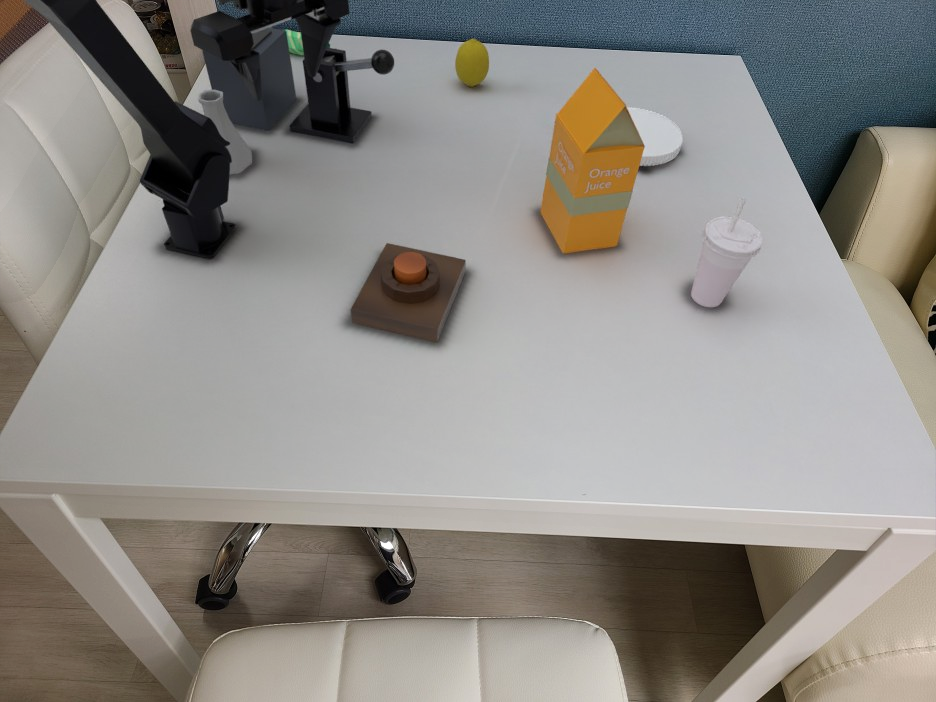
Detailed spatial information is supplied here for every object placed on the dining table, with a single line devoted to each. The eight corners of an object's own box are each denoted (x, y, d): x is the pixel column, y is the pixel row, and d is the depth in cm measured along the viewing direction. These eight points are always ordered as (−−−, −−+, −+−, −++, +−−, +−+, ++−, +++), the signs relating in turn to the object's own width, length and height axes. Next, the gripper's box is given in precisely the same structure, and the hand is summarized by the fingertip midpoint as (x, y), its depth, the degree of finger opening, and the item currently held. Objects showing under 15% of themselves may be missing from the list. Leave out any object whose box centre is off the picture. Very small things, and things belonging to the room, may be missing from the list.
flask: (260, 150, 97) (246, 84, 89) (244, 179, 92) (228, 112, 85) (211, 145, 97) (193, 79, 90) (192, 174, 92) (172, 106, 85)
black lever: (400, 67, 94) (393, 44, 92) (392, 77, 92) (386, 54, 90) (325, 74, 98) (317, 52, 96) (316, 84, 96) (308, 62, 94)
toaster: (268, 132, 100) (254, 57, 92) (219, 122, 101) (201, 48, 93) (296, 100, 107) (286, 28, 98) (250, 91, 108) (235, 19, 99)
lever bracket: (372, 118, 104) (367, 49, 96) (353, 145, 99) (347, 74, 91) (312, 107, 106) (302, 37, 98) (290, 132, 100) (278, 62, 92)
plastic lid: (635, 113, 109) (639, 99, 108) (697, 156, 102) (702, 141, 100) (568, 135, 104) (571, 120, 102) (628, 181, 97) (632, 166, 95)
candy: (332, 48, 117) (323, 34, 113) (325, 66, 117) (316, 52, 113) (273, 34, 120) (262, 19, 116) (266, 51, 119) (255, 37, 115)
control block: (437, 343, 74) (437, 317, 71) (351, 323, 75) (348, 297, 72) (465, 273, 82) (466, 247, 79) (387, 256, 83) (385, 230, 80)
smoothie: (694, 271, 84) (733, 176, 74) (742, 295, 82) (789, 200, 71) (670, 297, 81) (707, 201, 70) (719, 323, 78) (765, 228, 68)
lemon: (449, 82, 113) (450, 34, 107) (478, 76, 115) (481, 29, 109) (462, 97, 110) (465, 49, 104) (492, 92, 112) (496, 43, 106)
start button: (420, 288, 75) (420, 276, 73) (389, 281, 75) (389, 269, 74) (430, 267, 77) (430, 255, 76) (400, 260, 77) (399, 249, 76)
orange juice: (562, 254, 85) (592, 108, 70) (538, 212, 91) (562, 68, 76) (618, 246, 87) (659, 101, 72) (592, 205, 92) (625, 63, 77)
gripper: (281, -88, 80) (299, 43, 92) (141, -51, 70) (181, 91, 82) (347, -64, 76) (356, 71, 87) (207, -21, 66) (239, 125, 77)
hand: (285, 87), depth 84 cm, fingers open, 8 cm apart
